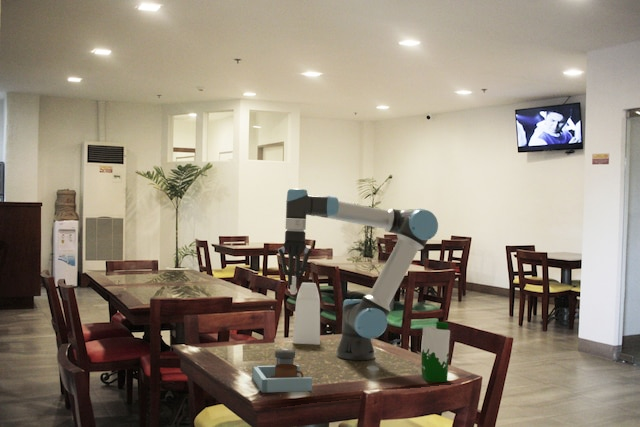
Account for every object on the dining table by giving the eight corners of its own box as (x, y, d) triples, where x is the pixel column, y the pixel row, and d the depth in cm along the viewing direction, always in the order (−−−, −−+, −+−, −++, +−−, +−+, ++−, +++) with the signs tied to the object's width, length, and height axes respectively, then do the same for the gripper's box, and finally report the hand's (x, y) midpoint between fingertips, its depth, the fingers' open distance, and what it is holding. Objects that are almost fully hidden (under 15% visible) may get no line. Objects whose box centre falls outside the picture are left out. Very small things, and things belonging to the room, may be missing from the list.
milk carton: (450, 382, 218) (452, 324, 218) (424, 382, 217) (426, 324, 217) (443, 376, 226) (445, 320, 226) (418, 376, 226) (420, 320, 226)
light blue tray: (293, 372, 224) (294, 355, 224) (311, 390, 200) (312, 371, 200) (248, 373, 219) (249, 355, 219) (262, 392, 196) (262, 373, 196)
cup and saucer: (305, 381, 212) (306, 363, 212) (302, 391, 200) (303, 371, 200) (269, 379, 213) (270, 361, 213) (264, 389, 201) (265, 369, 201)
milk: (292, 343, 275) (295, 283, 276) (293, 338, 287) (295, 281, 287) (320, 344, 275) (322, 284, 276) (319, 339, 287) (322, 282, 287)
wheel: (292, 363, 224) (292, 347, 224) (296, 368, 218) (297, 351, 218) (272, 363, 222) (273, 347, 223) (276, 368, 216) (277, 351, 216)
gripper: (280, 230, 229) (277, 295, 229) (315, 231, 233) (312, 295, 232) (276, 229, 236) (273, 292, 236) (309, 230, 240) (307, 292, 240)
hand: (292, 293), depth 234 cm, fingers closed
